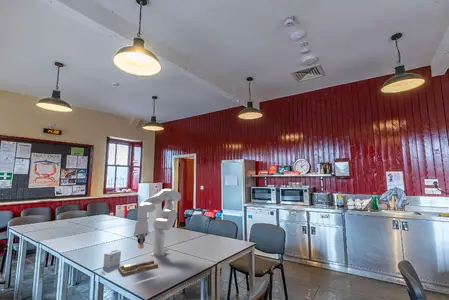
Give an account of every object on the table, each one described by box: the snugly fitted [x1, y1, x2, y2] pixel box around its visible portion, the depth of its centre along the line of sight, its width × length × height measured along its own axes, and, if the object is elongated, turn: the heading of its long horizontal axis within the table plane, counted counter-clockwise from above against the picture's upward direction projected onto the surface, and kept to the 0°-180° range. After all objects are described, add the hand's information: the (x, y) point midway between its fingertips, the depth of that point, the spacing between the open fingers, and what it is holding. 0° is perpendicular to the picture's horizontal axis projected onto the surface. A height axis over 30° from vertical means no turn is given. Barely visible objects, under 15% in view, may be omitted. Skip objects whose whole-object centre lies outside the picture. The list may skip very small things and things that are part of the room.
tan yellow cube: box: [122, 263, 131, 272], centre depth 166 cm, size 4×4×4 cm
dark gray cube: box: [129, 262, 137, 271], centre depth 168 cm, size 4×4×4 cm
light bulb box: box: [102, 249, 122, 269], centre depth 177 cm, size 11×7×11 cm, turn 157°
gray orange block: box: [137, 234, 145, 250], centre depth 184 cm, size 3×5×11 cm, turn 38°
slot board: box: [117, 259, 159, 277], centre depth 171 cm, size 26×14×3 cm, turn 127°
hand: (141, 242), depth 184 cm, fingers closed on gray orange block, 2 cm apart
